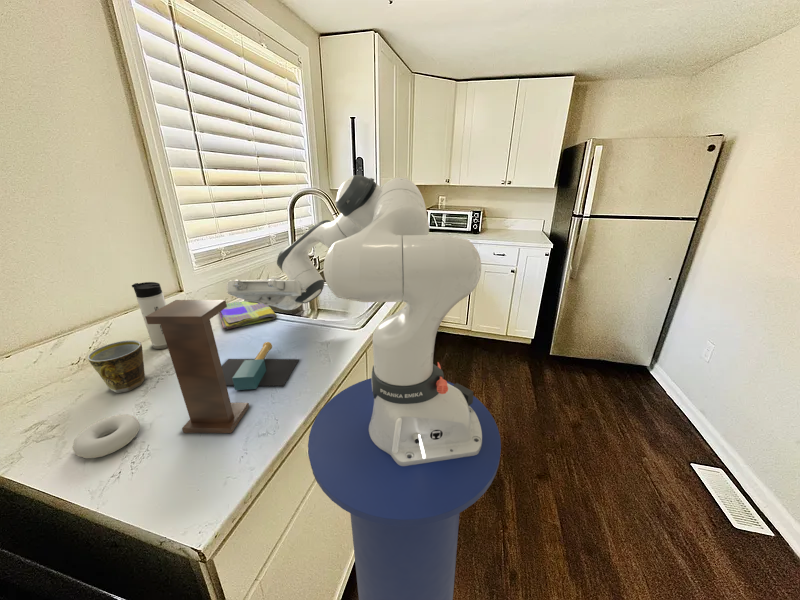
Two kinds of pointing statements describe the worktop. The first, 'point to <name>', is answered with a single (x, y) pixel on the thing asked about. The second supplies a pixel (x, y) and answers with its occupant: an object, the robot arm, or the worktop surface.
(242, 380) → the mallet
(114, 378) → the ceramic cup
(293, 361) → the mat
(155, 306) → the travel mug
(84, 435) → the donut
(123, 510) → the worktop surface
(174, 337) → the brown wooden pedestal
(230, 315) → the dish towel
